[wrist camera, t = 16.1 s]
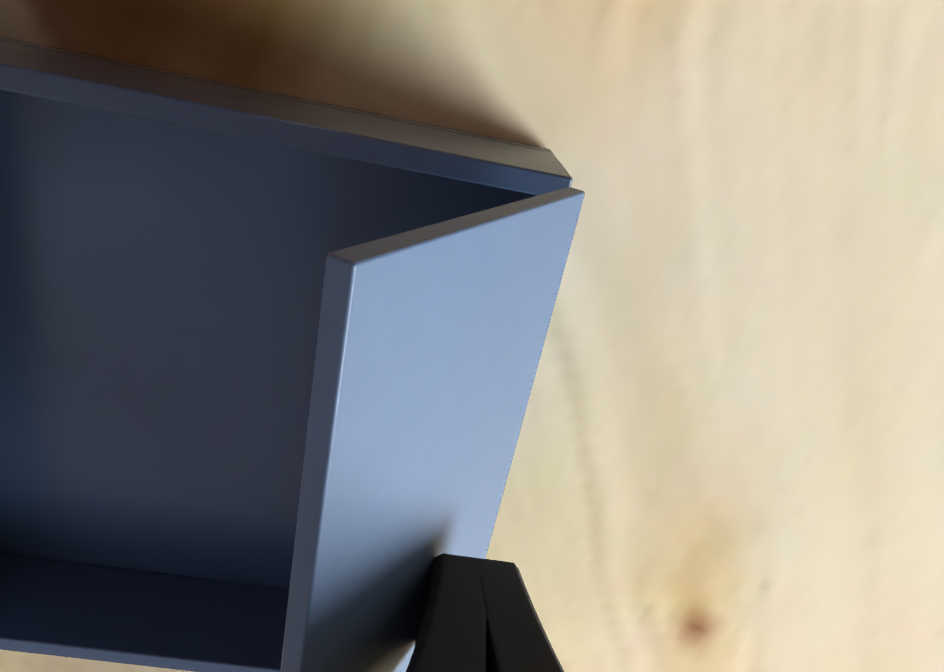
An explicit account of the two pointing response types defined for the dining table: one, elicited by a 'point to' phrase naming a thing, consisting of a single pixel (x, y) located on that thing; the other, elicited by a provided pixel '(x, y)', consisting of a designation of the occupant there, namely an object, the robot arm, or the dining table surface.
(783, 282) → the dining table surface
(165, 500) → the carton
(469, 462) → the flap
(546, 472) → the dining table surface
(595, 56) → the dining table surface
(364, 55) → the dining table surface
